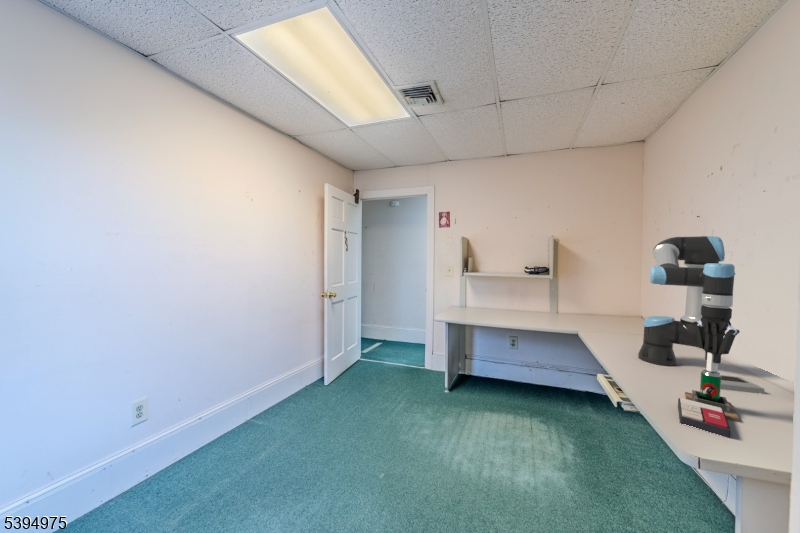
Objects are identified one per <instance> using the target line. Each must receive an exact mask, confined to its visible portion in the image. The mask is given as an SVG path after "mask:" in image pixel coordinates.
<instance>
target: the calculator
mask: <svg viewBox="0 0 800 533" xmlns="http://www.w3.org/2000/svg"><path fill="white" fill-rule="evenodd" d="M677 401H678V402H677V410H678V418H679V420H680V421H679V424H680V423H681V425H682V424H686V425H689V426H693V427H696V428H699V429H698V430H700V429H702V430H701V431H703V430H705V431H704V432H706V431H708V432H707V433H710V432H711V433H710V434H713V433H715V434H714V435H717V434H718V436H720V435H721V437H725V438H727V439H730V438H731V428H730V426H729V422H728V419H726V416H725V413H724V411H723V409H721V408H720V407H716V406H712V405H708V404H703V403H699V402H695V401H691V400H687V399H686V398H683V397H679V398H678V399H677ZM686 425H685V426H686ZM689 426H688V427H689ZM693 427H692V428H693ZM696 428H695V429H696Z"/></svg>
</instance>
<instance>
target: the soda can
mask: <svg viewBox="0 0 800 533" xmlns="http://www.w3.org/2000/svg"><path fill="white" fill-rule="evenodd" d="M720 375H721V373H720V372H710V371H708V370H706V368H705V369H702V371H701V372H700V385H699V392H700V399H704V400H708V401H712V402H717V403H720V396H721V390H722V389H721V376H720Z"/></svg>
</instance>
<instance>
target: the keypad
mask: <svg viewBox="0 0 800 533" xmlns="http://www.w3.org/2000/svg"><path fill="white" fill-rule="evenodd" d="M720 376H721V390H726V391H735V392H742V393H752V394H759V393H761V395H765V388H764V387H762V386H760V385H757V384H755V383H753V382H751V381H749V380H747V379H745V378H742V377H741V376H731V375H723V374H720Z"/></svg>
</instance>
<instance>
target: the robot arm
mask: <svg viewBox="0 0 800 533" xmlns="http://www.w3.org/2000/svg"><path fill="white" fill-rule="evenodd" d="M725 254H726V252H725V245H724V242H723V240H722V238H721V237H720V236H713V235H711V236H708V235H705V236H704V235H703V236H674V237H669V238H666V239H664V240H662V241H660V242H658V243H657V244H656V245H655V246H654V248H653V249H652V256H653V258H654V259H655V266H651V267H650V274H649V275H650V277H649V279H650V280H649V282H650V283H651V284H653V285H661V286H677V287H679V286H681V287H686V295H685V308H684V310H685V311H684V315H682V316H680V320H676V319H675V317H673V316H667V315H666V316H665V315H663V316H661V315H657V316H656V315H651V316H648V317H646V318H644V321H643V322H644V323H643V327H644V329H643V340H642V341H643V342H642V345H641V347H640V349H639V351H638V354H637V357H638V359H639V360H641V361H643V362H647V363H649V364H655V365H659V366H666V367H667V366H669V367H672V366H676V365H677V361H678V360H677V357H676V355H675V351H674V349H673V348H674V347H673V346H674V344H676V345H681V346H688V347H692V348H693V347H695V348H698V349H702V350H704V351H705V352H704V358H705V361H706V368H705V369H706V370H708V371H710V372H718V371H719V364H721V362H722V355H729V354H730V351H731V348H732V345H733V343H734V341H735V338H736V336H737V335H738V334H739V333H740V330H739V329H735V328H734V327H733V326H732V323H731V319H732V315H733V309H732V307H733V302H734V284H735V275H736V271H735V268H736V267H735V265H734V264H732V263H720V262H724V261H725V257H726V256H725ZM679 261H684V263H683V264H684V265H685V266H686V267H685V266H680V263H679Z"/></svg>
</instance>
